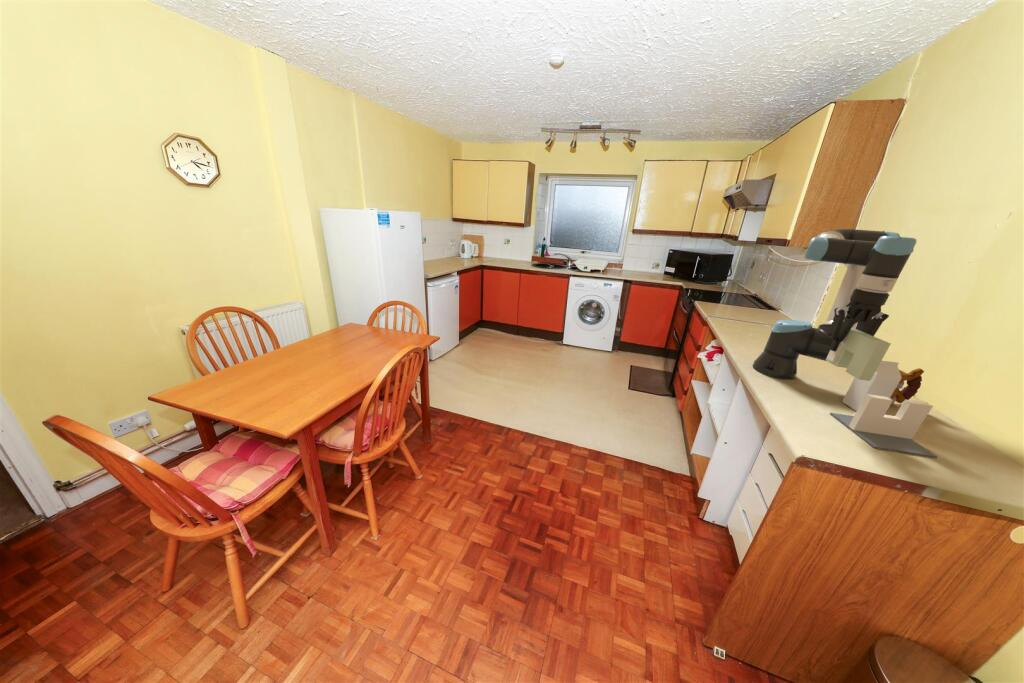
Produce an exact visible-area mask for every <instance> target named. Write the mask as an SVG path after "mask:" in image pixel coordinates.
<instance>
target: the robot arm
mask: <svg viewBox="0 0 1024 683" xmlns="http://www.w3.org/2000/svg"><path fill="white" fill-rule="evenodd" d="M916 244H917V239H916V238H915V237H905V236H900V233H898V232H895V231H886V230H881V231H880V230H871V229H870V230H867V229H855V228H854V229H853V228H838V229H830V230H826V231H824V232H821V233H819V234H817V235H816V236H815V237H812V238H811V239H810V240H809V244H808V246H807V249H806V251H805V253H804V255H803V256H804V259H805V260H809V261H814V262H824V263H826V262H827V263H833V264H834V263H835V264H836V263H837V264H843V265H844V266H845V267H846V271H845V273H844V275H843V278H842V281H841V283H840V286H839V288H838V291H837V293H836V296H835V298H834V300H833V303H832V306H831V308H830V311H829V314H828V316H827V318H826V321H825V322H823V323H820V324H819V325H818V328H815V327H813V324H812V323H811V322H808V321H804V320H797V319H780V320H777V321H775V323H774V324H773V327H772V329H771V330H770V334H769V337H768V340H767V342H766V344H765V346H764V349H763V351H762V352H761V353H760V354H759V355H758V356H757V358H756V359H755V360H754V361H753V363H752V367H753V369H754V370H756V371H757V372H759V373H761V374H763V375H766V376H769V377H772V378H777V379H781V380H790V381H791V380H794V379H795V378H796V376H797V373H798V367H797V366H798V363H797V362H798V359H799V356H800V355H801V356H805V357H808V358H812V359H816V360H820V361H824V362H827V361H826V358H827V359H829V360H831V361H832V362H835V361H836V359H837V357H838V355H839V353H840V351H841V349H842V347H843V345H844V343H842V341H843V340H844V338H845V337H846V335H847V334H848V332H849V331H850V329H851V328H854V329H857V330H859V331H862V332H864V333H867V334H869V335H871V336H874V337H875V335H876V333H877V332H878V331H879V329H880V328H881V326H882V324H883V323H884V321H885V320H887V319H888V318H889V317H890V315H889V314H887V313H884V312H882V307H883V306H885V305H886V302H888V299H889V296H890V294H889V293H891V292H892V291H893V289H894V287H895V285H896V283H897V281H898V278H900V274H901V273H902V271H903V270H904V267H905V266H906V264H907V262H908V260H909V258H910V257H911V255H912V253H913V252H914V249H915V246H916ZM827 356H828V357H827Z"/></svg>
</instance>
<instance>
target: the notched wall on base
mask: <svg viewBox="0 0 1024 683" xmlns="http://www.w3.org/2000/svg"><path fill="white" fill-rule="evenodd" d="M892 401H893V400H892V399H890V398H888V397H884V396H877V395H870V394H866V396H865V397H864V399H863V401H862V403H861V405H860V406H859V408H858V410H857V412H856V411H855V414H854V415H850V414H843V413H837V412H829V415H830V416H831V417H833V419H836V420H837V421H838V422H839V423H841V424H842V426H844V427H846V428H847V429H848V430H850V431H851V432H852V433H853V434H855V435H856V436H857V437H859V439H861V440H863V441H864V442H865V443H866V444H868V445H869V446H870V447H872V449H875V450H883V451H889V452H897V453H902V454H908V455H913V456H914V455H915V456H921V457H926V458H933V459H938V458H939V456H938V455H936V454H935V453H934V452H932V451H930V450H928V449H927V448H926V447H925V446H923V445H921V444H920V443H918V442H917V441H916V440H914V439H913V438H914V437H915V435H916V433H917V432H918V430H919V428H920V427H921V425H922V424H923V423H924V421H925V419H926V418H927V416H928V414H929V413H930V412H931V410H932V409H933V407H934V405H933V404H930V403H928V402H925V401H918V400H911V399H909V400H905V401H904V402H902V403H901V404H900V407H899V408H898V410H897V412H896V413H895V415H891V414H886V413H887V412H888V409H889V408H890V407H891V406H892V405H891V403H892ZM890 405H891V406H890Z"/></svg>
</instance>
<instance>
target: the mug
mask: <svg viewBox="0 0 1024 683" xmlns="http://www.w3.org/2000/svg"><path fill="white" fill-rule="evenodd" d="M899 372H900V374H901V377H902V378H901V380H900V382H899V383H898V385H897V387H896V388H895V390H894V392H893V394H892V395H891V397H890V399H892V400H893V401H892V403H891V405H890V406H889V407H892V405H893V404H894V403H895V402H897V403H899V404H903V402H904V401H905V400H911V398H913V397H915V396H916V394H917V393H918V392H919V391H918V390H919V389H921V385H922V381H923V378H922V375H923V374H924V372H925V371H924V370H923V369H922V368H920V367H918V368H916V369H912V370H911V371H909V372H908V373H907V372H905V371H903V370H902V369H899ZM905 381H906V384H907V385H906V387H905V386H904V385H905ZM903 386H904V387H903ZM900 389H901V390H900Z"/></svg>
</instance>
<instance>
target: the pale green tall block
mask: <svg viewBox="0 0 1024 683" xmlns="http://www.w3.org/2000/svg"><path fill="white" fill-rule="evenodd" d="M842 343H844V345H843V347H842V349H841V351H840V353H839V355H838V357H837V359H836V361H835V362H832V361H831V360H829V359H827V358H826V361H825V362H828V363H830V364H831V365H834V366H835V367H836V368H846V370H845V373H846V374H848V375H850V376H852V377H854V378H857V379H859V380H866V381H870V380H871V379H872V377H873V375H874V373H875V371H876V370H877V368H878V366H879V364H880V362H881V361H883V359H884V357H885V355H886V353H887V352H888V350H889V348H890V346H891V343H890V342H888V341H885V340H883V339H882V338H878V337H876V336H875V335H874V336H871V335H869V334H867V333H864V332H862V331H859V330H857V329H854V328H851V329H850V331H849V332H848V334H847V335H846V337H845V338H844V340H843V341H842ZM827 357H828V356H827Z"/></svg>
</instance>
